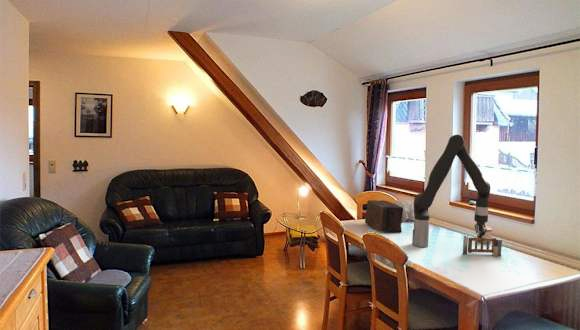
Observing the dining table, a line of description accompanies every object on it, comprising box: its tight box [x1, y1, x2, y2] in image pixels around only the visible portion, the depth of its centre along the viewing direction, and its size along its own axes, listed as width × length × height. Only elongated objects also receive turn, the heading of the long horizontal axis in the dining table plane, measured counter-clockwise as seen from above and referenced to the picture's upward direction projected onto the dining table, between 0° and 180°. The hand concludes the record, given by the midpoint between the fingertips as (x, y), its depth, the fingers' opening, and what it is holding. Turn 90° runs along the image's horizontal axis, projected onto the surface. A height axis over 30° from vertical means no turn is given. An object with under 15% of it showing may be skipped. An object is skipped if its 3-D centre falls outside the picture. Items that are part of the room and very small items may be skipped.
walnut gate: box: [467, 236, 497, 254], centre depth 249 cm, size 16×2×9 cm, turn 90°
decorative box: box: [364, 199, 403, 234], centre depth 309 cm, size 31×20×20 cm
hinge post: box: [462, 235, 469, 256], centre depth 249 cm, size 2×2×11 cm
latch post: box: [491, 238, 503, 258], centre depth 247 cm, size 5×4×10 cm
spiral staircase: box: [394, 199, 414, 222], centre depth 338 cm, size 18×18×25 cm
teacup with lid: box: [476, 224, 493, 244], centre depth 280 cm, size 12×9×12 cm
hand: (479, 241), depth 255 cm, fingers closed
